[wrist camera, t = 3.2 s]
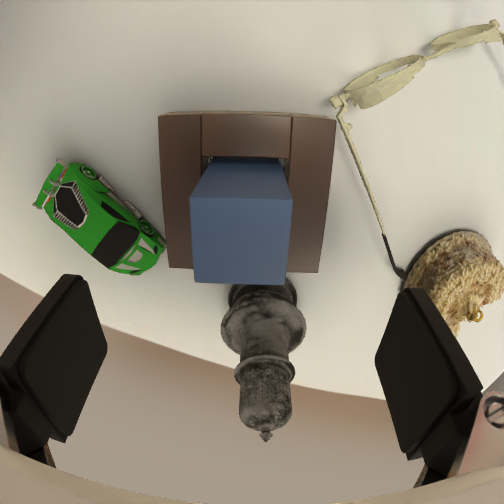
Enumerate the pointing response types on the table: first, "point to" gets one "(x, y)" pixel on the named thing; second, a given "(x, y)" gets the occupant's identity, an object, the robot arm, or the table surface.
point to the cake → (459, 277)
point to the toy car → (100, 219)
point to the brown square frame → (248, 145)
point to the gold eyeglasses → (390, 85)
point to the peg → (241, 222)
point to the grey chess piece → (264, 351)
